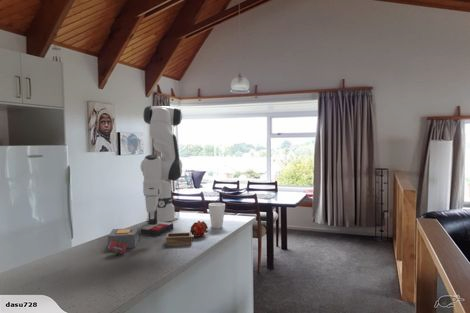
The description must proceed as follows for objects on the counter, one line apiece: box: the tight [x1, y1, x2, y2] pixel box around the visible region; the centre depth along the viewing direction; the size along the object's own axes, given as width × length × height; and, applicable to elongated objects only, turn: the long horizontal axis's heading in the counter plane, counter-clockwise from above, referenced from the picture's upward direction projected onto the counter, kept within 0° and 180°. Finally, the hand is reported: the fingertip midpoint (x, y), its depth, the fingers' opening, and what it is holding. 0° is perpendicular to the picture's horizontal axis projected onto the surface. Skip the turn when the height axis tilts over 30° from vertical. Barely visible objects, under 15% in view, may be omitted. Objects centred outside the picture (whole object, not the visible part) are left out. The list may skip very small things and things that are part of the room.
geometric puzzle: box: [108, 239, 128, 257], centre depth 150 cm, size 7×7×8 cm
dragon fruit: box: [190, 220, 209, 238], centre depth 177 cm, size 8×8×12 cm
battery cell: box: [148, 207, 157, 225], centre depth 166 cm, size 4×4×10 cm
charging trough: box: [165, 232, 193, 247], centre depth 166 cm, size 8×12×4 cm, turn 98°
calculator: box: [140, 221, 174, 237], centre depth 187 cm, size 11×4×15 cm
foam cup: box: [208, 202, 226, 229], centre depth 196 cm, size 10×9×13 cm
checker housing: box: [107, 227, 139, 250], centre depth 164 cm, size 12×12×6 cm
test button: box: [116, 228, 131, 234], centre depth 164 cm, size 6×6×3 cm
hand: (152, 217), depth 166 cm, fingers closed on battery cell, 4 cm apart
